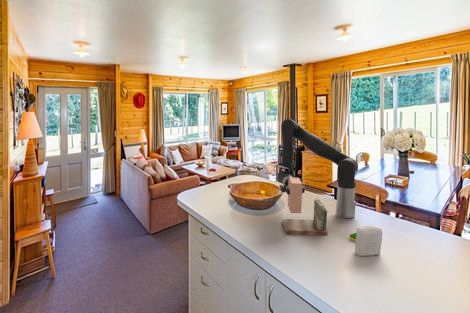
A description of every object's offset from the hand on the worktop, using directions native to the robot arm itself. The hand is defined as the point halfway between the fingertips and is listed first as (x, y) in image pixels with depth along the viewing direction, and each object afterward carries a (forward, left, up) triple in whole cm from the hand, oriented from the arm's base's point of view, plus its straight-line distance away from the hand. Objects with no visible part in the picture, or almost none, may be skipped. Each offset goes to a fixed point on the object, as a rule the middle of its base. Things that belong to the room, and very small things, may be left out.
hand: (295, 193), depth 130 cm
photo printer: (-27, +22, -19) cm, 40 cm away
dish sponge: (-32, +8, -20) cm, 39 cm away
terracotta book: (0, -1, -9) cm, 9 cm away
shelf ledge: (-5, -1, -19) cm, 20 cm away
